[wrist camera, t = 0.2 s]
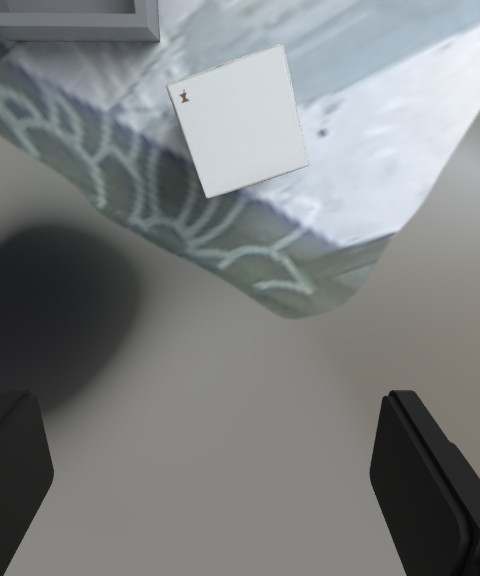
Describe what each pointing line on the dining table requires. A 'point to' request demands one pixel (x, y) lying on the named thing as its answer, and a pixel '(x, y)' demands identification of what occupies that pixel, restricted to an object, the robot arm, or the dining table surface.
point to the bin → (80, 20)
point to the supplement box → (240, 121)
